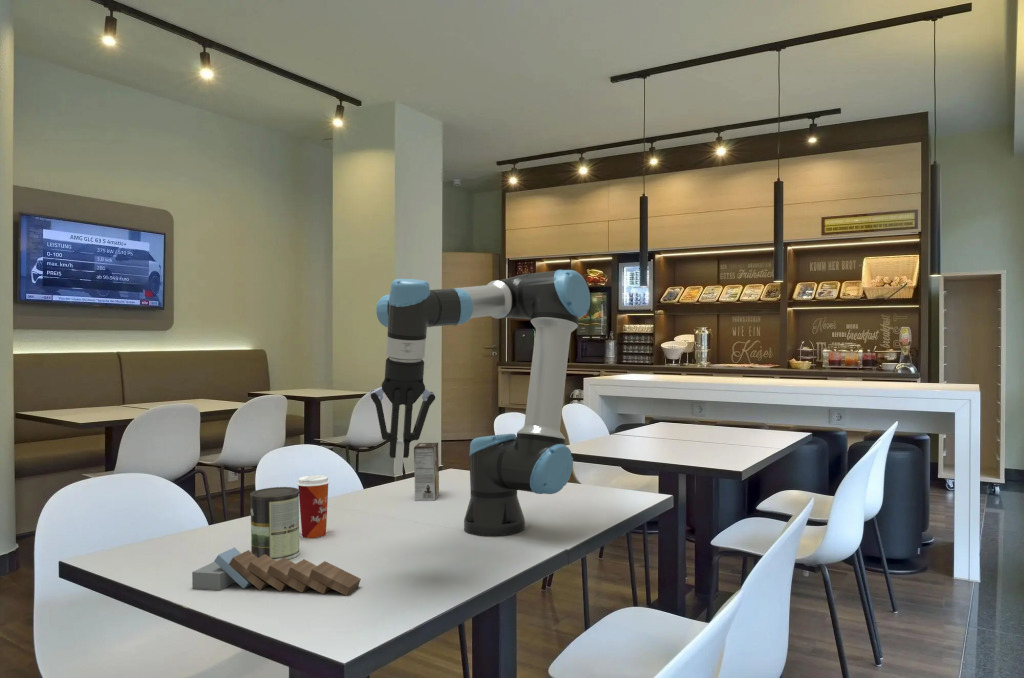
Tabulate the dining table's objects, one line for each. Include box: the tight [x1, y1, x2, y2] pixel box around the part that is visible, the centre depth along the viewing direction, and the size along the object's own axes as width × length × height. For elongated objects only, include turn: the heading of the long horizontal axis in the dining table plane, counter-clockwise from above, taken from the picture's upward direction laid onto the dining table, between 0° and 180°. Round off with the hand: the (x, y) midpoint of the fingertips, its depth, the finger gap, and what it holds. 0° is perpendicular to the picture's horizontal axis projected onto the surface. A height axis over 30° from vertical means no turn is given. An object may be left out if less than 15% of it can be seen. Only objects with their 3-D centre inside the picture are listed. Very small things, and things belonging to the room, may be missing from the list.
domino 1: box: [213, 547, 253, 589], centre depth 135 cm, size 2×5×8 cm
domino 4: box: [267, 557, 311, 594], centre depth 132 cm, size 2×5×8 cm
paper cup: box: [296, 474, 331, 539], centre depth 170 cm, size 8×8×14 cm
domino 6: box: [309, 560, 362, 596], centre depth 131 cm, size 2×5×8 cm
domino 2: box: [229, 549, 271, 591], centre depth 134 cm, size 2×5×8 cm
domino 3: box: [247, 554, 290, 592], centre depth 133 cm, size 2×5×8 cm
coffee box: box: [413, 442, 440, 502], centre depth 211 cm, size 9×6×16 cm
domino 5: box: [287, 558, 333, 595], centre depth 132 cm, size 2×5×8 cm
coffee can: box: [249, 486, 301, 561], centre depth 153 cm, size 10×10×14 cm
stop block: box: [191, 561, 237, 591], centre depth 136 cm, size 6×8×3 cm
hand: (397, 472), depth 141 cm, fingers closed
